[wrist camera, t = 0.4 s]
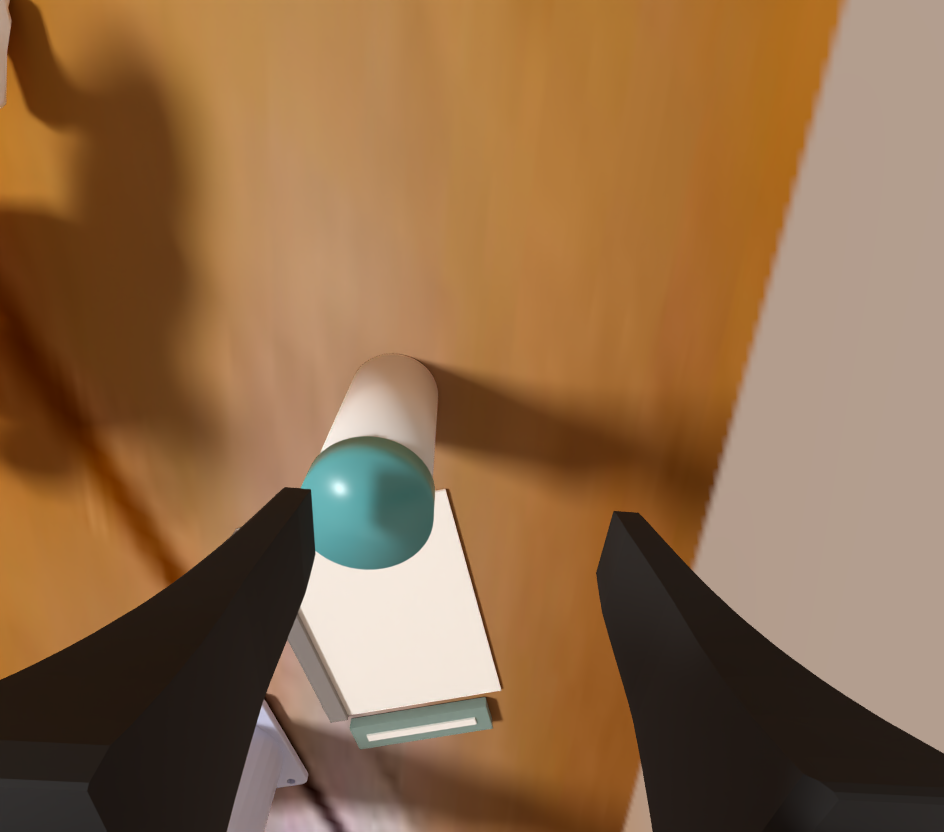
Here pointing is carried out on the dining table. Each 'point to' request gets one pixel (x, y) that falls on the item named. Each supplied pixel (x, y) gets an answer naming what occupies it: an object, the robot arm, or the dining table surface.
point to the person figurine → (4, 47)
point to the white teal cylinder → (377, 467)
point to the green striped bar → (421, 723)
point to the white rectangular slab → (394, 629)
